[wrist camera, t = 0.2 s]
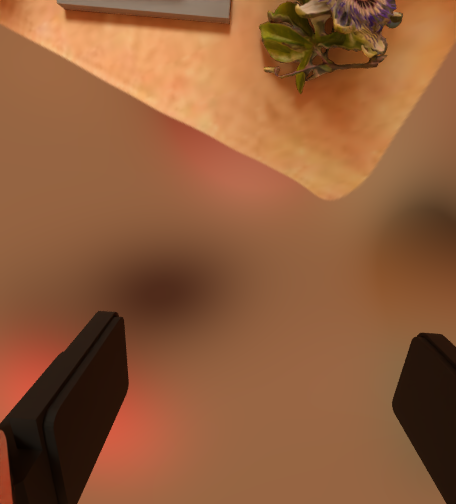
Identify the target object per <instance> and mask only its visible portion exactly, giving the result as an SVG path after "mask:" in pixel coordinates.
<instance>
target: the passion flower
mask: <svg viewBox="0 0 456 504" xmlns="http://www.w3.org/2000/svg"><path fill="white" fill-rule="evenodd" d="M297 1H299V2H300V3H301V4H302V6H301V5H300V4H299V3H297V2H293V3H292V2H285V3H283V4H280V6H279V7H278V8H277V9H276V11H275V13H274V14H273V13H272V12H271V11H268V20H269V22H265V23H263V24H261V25H260V26H259V29H260V30H261V38H262V42H263V44H264V45H265V47H266V49H267V51H268V52H269V54H270V56H271V57H272V58H273V59H275V60H276V61H279V62H281V63H290V62H300V64H299V66H298V67H297V71H295V72H294V73H290V74H286V75H282V76H278V75H277V74H278V73H279V70H280V67H279V66H278V67H264V71H265V72H270V73H271V72H272V73H274V74H275V75H276V76H277V77H280V78H284V77H289V76H293V75H295V74H296V86H297V89H298V91H299V93H300V94H301V93H302V90H303V87H304V84H305V81H308V80H310V79H314V78H316V77H318V76H320V75H322V74H325V73H330V72H333V71H334V70H337V69H349V68H371V67H377V66H378V63H380V62H382V61H383V60H384V58H385V57H386V56H387V55H384V54H385V52H386V50H387V41H386V38H384V37H383V36H382V29H383V26H384V25H387V27H389V28H396V27H397V26H398V25H399V24H400V23H401V21H402V17H403V14H402V13H398V12H394V10H395V9H396V3H395V0H297ZM330 17H331V18H333V29H332V33H330V34H326V32H325V28H324V27H325V21H326V20H327V19H328V18H330ZM308 19H311V22H312V24H313V25H314V29H315V33H314V31H313V29H312V28H311V26H310V24H309V21H308ZM271 20H272V21H274V22H279V21H280V22H286V23H289V24H291V25H292V26H293V28H292V27H291V26H288V25H286V24H283V23H272V24H271V23H270V21H271ZM334 30H335V31H336V32H334ZM322 47H324V48H326V52H325V53H322V52H321V48H322ZM335 47H340V48H343V49H346V50H353V51H356V52H357V51H362V52H363V53H364V54H365V56H367V57H368V58H370V59H369V62H368V63H364V64H346V65H337V64H335V63H334V62H332V61H331V60H329V59H328V51H329V49H331V48H335ZM379 54H382V55H381V56H377V55H379ZM316 55H318V56H320V57H321V58H322V60H323V64H319V65H313V64H312V59H313V58H314V57H315V56H316ZM312 70H313V73H314V74H313V75H312V76H311V77H309V78H308V79H306V78H307V76H308V74H309V73H310V72H311V71H312Z"/></svg>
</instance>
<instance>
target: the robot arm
mask: <svg viewBox="0 0 456 504" xmlns="http://www.w3.org/2000/svg"><path fill="white" fill-rule="evenodd" d="M128 384H129V382H128V368H127V355H126V341H125V327H124V319H123V317H119V315H118V313H117V312H106V311H98V312H97V313H96V314H95V315H94V317H93V318H92V319H91V320H90V321H89V323H88V324H87V325H86V326H85V327H84V329H83V330H82V331H81V332H80V333H79V335H78V336H77V337H76V338H75V340H73V342H72V343H71V344H70V345H69V346H68V348H67V349H66V350H65V351H64V352H62V353H61V354H59V355H58V356H57V358H56V359H55V360H54V361H53V362H52V363H51V365H50V366H49V367H48V368H47V369H46V370H45V372H44V373H43V374H42V375H41V376H40V378H39V379H38V380H37V381H36V383H34V385H33V386H32V387H31V388H30V389H29V390H28V392H27V393H26V394H25V395H24V396H23V397H22V399H21V400H20V401H19V402H18V403H17V405H16V406H15V407H14V408H13V409H12V410H11V412H10V413H9V414H8V415H7V416H6V417H5V419H4V420H3V421H2V422H1V423H0V504H77V503H78V501H79V499H80V496H81V494H82V492H83V490H84V488H85V485H86V483H87V481H88V479H89V476H90V474H91V472H92V469H93V467H94V465H95V463H96V461H97V458H98V456H99V454H100V452H101V450H102V447H103V445H104V443H105V441H106V438H107V436H108V434H109V432H110V430H111V427H112V425H113V423H114V421H115V418H116V416H117V414H118V412H119V409H120V407H121V405H122V403H123V401H124V398H125V396H126V393H127V390H128ZM392 407H393V411H394V413H395V415H396V417H397V419H398V420H399V422H400V424H401V425H402V427H403V429H404V431H405V432H406V434H407V436H408V437H409V439H410V441H411V443H412V445H413V446H414V448H415V450H416V452H417V453H418V455H419V457H420V458H421V460H422V462H423V464H424V465H425V467H426V469H427V471H428V472H429V474H430V476H431V477H432V479H433V481H434V482H435V484H436V486H437V488H438V490H439V491H440V493H441V495H442V496H443V498H444V500H445V502H446V503H447V504H456V347H455V346H454V345H453V344H452V343H451V342H450V341H449V340H448V339H447V338H446V337H444V336H443V335H441V334H433V333H420V334H419V335H417V337H414V338H413V339H412V341H411V344H410V348H409V351H408V354H407V357H406V360H405V363H404V366H403V369H402V372H401V375H400V379H399V382H398V385H397V388H396V391H395V394H394V397H393V401H392Z"/></svg>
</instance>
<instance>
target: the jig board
mask: <svg viewBox="0 0 456 504" xmlns="http://www.w3.org/2000/svg"><path fill="white" fill-rule="evenodd" d="M57 4H59V5H60V6H61V7H63V8H64V9H68V10H79V11H91V12H102V13H113V14H125V15H136V16H147V17H159V18H170V19H181V20H193V21H204V22H216V23H227V24H229V19H230V5H231V0H57Z"/></svg>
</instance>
